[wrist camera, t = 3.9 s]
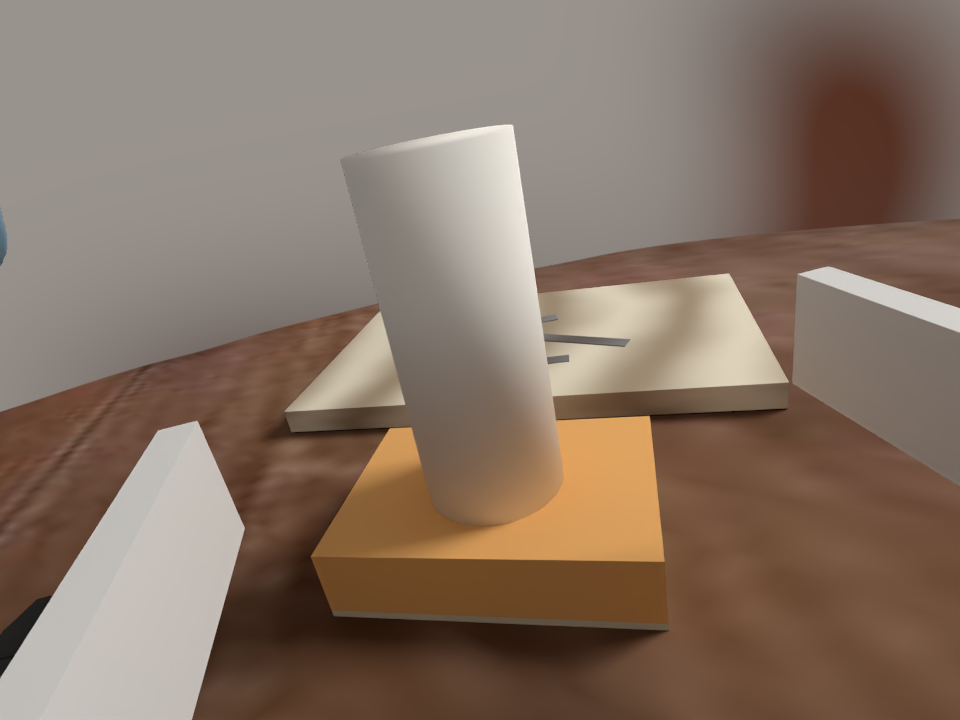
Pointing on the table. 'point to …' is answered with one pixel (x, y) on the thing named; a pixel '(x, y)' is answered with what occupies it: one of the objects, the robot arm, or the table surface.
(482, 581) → the block
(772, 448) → the table surface
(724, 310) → the plywood board
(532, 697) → the table surface
